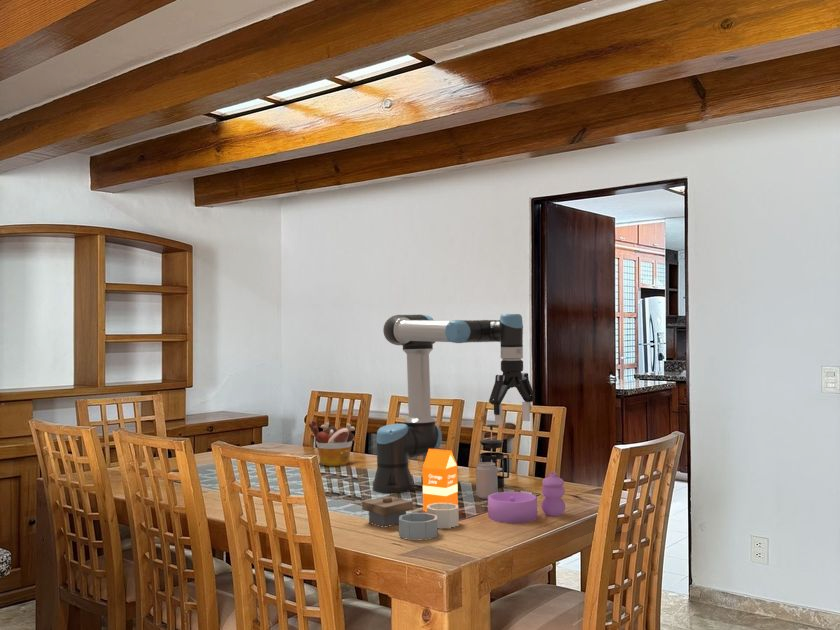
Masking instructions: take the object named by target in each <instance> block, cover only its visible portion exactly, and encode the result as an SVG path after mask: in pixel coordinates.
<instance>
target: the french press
mask: <svg viewBox="0 0 840 630" xmlns="http://www.w3.org/2000/svg"><path fill="white" fill-rule="evenodd" d="M497 426H498V425H496V424H486V425H485V427H489V430H490V438H489V439H481V440H479V443H480V444H481V445H482V446H483V447H484V448H486V449H490V452H489V451H488V452H480V453H479V463H482V460H486V462H491V463H495V466H496V467H497V473H501V472H502V475H498V474H497V480H498V489H502V487H503V488H505V487H504V486H505V479H509V478H510V459H509V458H510V455H509V454H508V453H501V452H496V451H495V452H494V451H493V449H501V448H503V443H504V440H502V439H495V438H493V428H495V427H497ZM505 456H506V468H507V469H506V472H507V473H506V475H505V458H504V457H505ZM498 460H501V461H502V463H501V467H499V466H498Z"/></svg>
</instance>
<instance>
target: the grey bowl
mask: <svg viewBox="0 0 840 630" xmlns="http://www.w3.org/2000/svg"><path fill="white" fill-rule="evenodd" d="M437 533H438V529H437V515H433V514H429V513H427V512H410V513H406V514H405V515H401V516H399V524H398V537H399V536H400V537H403V538H402V539H404V538H407V539H410V540H409V541H414V540H413V539H428V540H430V539H429V538H432V539H435V538H438V534H437ZM400 537H399V538H400ZM434 537H435V538H434ZM407 539H406V540H407Z"/></svg>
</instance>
